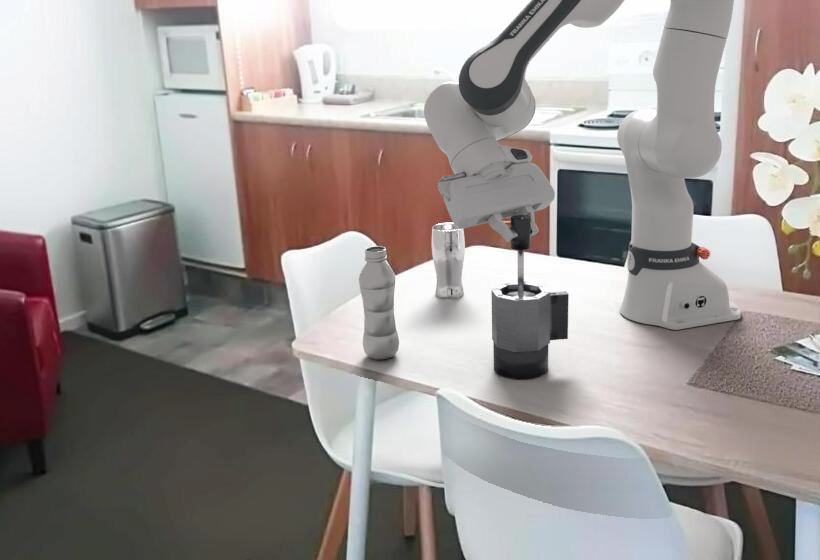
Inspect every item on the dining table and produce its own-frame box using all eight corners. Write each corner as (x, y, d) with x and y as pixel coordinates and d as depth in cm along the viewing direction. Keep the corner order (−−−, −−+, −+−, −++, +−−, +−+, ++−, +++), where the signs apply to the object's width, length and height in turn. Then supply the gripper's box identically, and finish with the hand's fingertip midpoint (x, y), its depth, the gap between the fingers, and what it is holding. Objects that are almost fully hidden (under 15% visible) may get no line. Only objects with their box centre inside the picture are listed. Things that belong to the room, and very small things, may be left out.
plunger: (531, 293, 144) (532, 212, 140) (539, 303, 139) (539, 220, 135) (502, 295, 144) (502, 214, 139) (509, 305, 139) (508, 222, 135)
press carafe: (558, 353, 151) (559, 278, 146) (573, 375, 142) (575, 296, 137) (488, 359, 149) (487, 284, 145) (499, 381, 141) (499, 302, 136)
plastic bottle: (405, 351, 154) (400, 245, 148) (389, 366, 149) (383, 256, 142) (373, 347, 157) (367, 242, 151) (356, 361, 151) (349, 253, 145)
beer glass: (463, 300, 179) (461, 231, 174) (430, 299, 180) (428, 230, 175) (468, 289, 185) (466, 222, 181) (436, 288, 187) (434, 222, 182)
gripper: (441, 166, 134) (483, 238, 129) (535, 148, 145) (577, 214, 141) (425, 190, 139) (465, 260, 134) (517, 171, 150) (557, 235, 146)
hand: (523, 236), depth 138 cm, fingers closed on plunger, 3 cm apart
